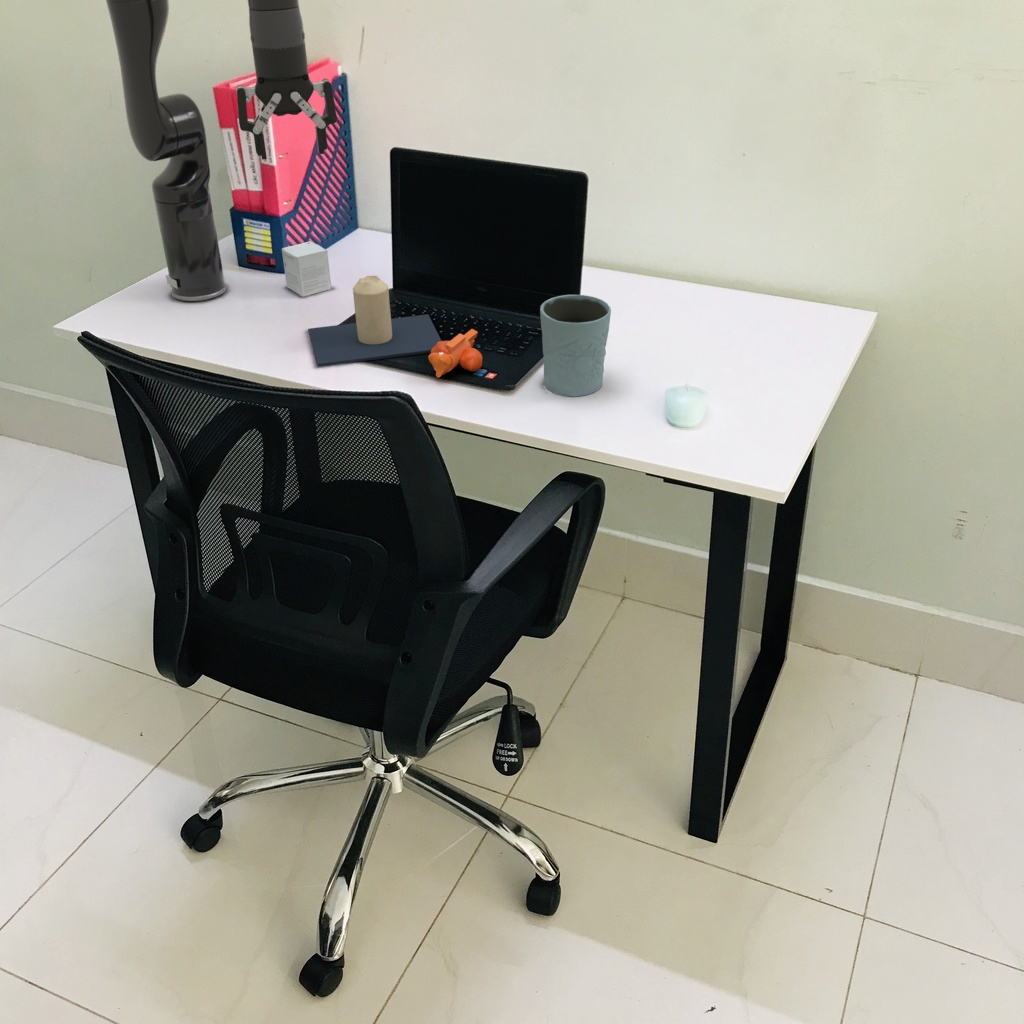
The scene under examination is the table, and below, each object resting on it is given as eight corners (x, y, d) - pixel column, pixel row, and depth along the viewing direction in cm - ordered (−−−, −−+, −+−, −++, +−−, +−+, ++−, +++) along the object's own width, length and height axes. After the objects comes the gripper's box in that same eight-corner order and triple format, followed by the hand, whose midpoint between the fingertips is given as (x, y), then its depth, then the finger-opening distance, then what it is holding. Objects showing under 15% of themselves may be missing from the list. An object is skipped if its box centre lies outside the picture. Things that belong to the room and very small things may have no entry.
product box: (285, 287, 199) (280, 247, 195) (316, 279, 202) (311, 240, 198) (302, 297, 195) (296, 257, 191) (332, 289, 198) (328, 249, 194)
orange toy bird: (461, 315, 172) (423, 345, 163) (503, 337, 171) (466, 369, 162) (454, 342, 176) (415, 373, 167) (494, 364, 174) (458, 396, 165)
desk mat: (308, 331, 183) (308, 328, 183) (428, 317, 187) (428, 314, 187) (317, 366, 171) (317, 363, 171) (445, 350, 175) (445, 347, 175)
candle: (386, 346, 176) (381, 286, 171) (353, 343, 177) (347, 284, 172) (396, 332, 181) (391, 273, 175) (364, 330, 182) (358, 271, 176)
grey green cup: (560, 363, 171) (561, 289, 164) (620, 377, 166) (623, 301, 160) (527, 390, 163) (526, 313, 157) (589, 405, 159) (591, 327, 152)
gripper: (325, 33, 164) (336, 145, 173) (226, 39, 162) (243, 153, 170) (331, 42, 158) (342, 158, 167) (228, 49, 155) (246, 166, 164)
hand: (292, 155), depth 169 cm, fingers open, 8 cm apart
